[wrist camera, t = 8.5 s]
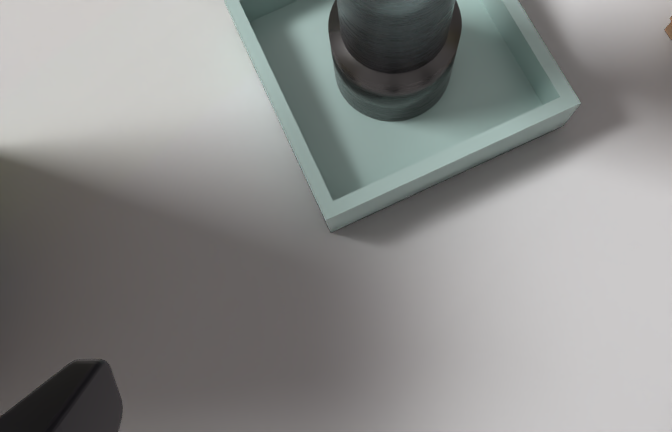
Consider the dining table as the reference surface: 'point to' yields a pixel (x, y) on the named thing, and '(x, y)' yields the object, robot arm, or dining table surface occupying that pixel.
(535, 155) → the dining table surface
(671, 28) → the socket block
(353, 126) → the tray
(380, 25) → the grey cylinder
